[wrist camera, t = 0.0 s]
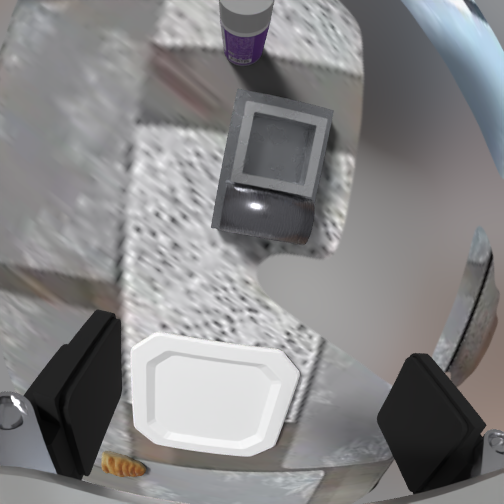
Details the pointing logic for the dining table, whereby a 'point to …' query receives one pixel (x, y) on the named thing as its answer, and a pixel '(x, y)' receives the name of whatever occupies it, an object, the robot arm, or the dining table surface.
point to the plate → (210, 393)
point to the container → (244, 29)
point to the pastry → (121, 465)
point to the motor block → (271, 167)
